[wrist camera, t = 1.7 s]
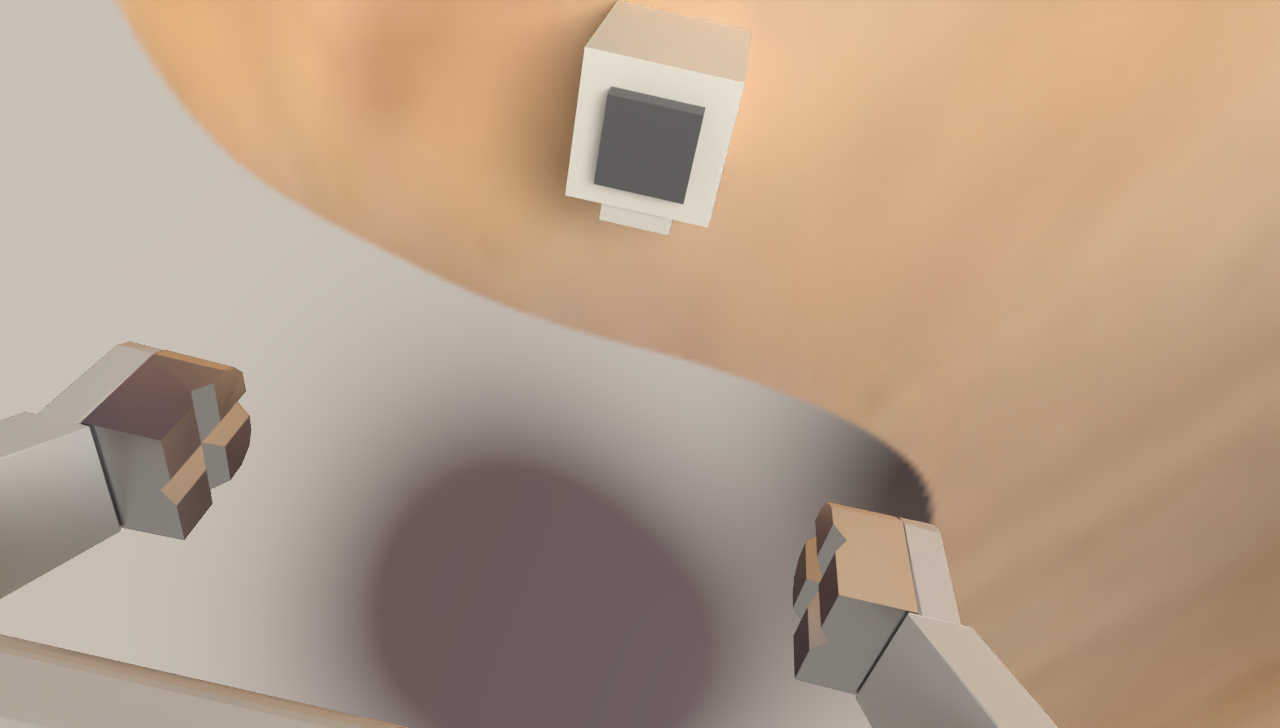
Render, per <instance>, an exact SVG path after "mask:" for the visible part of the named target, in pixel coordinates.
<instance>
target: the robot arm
mask: <svg viewBox="0 0 1280 728" xmlns="http://www.w3.org/2000/svg"><path fill="white" fill-rule="evenodd" d="M245 391H246V389H245V384H244V379H243V373H242V372H241V371H239V370H238V369H236V368H234V367H231V366H227V365H223V364H219V363H215V362H211V361H207V360H203V359H199V358H195V357H191V356H187V355H183V354H180V353H176V352H172V351H168V350H160V349H156V348H152V347H148V346H145V345H141V344H137V343H133V342H126V343H123V344H119V345H117V346H115V347H114V348H113V349H112V350H111V351H110V352H108V353H107V354H106V355H105V356H104V357H103V358H101V359H100V360H99V361H98V362H97V363H96V364H95V365H93V366H92V367H91V368H90V369H89V370H88V371H87V372H85V373H84V374H83V375H82V376H81V377H80V378H79V379H77V380H76V381H75V382H74V383H73V384H72V385H70V386H69V387H68V388H67V389H66V390H65V391H64V392H62V393H61V394H60V395H59V396H58V397H57V398H56V399H54V400H53V401H52V402H51V403H50V404H49V405H47V406H46V407H45V408H44V409H43V410H42V411H41V412H39V413H38V414H33V413H28V412H24V413H21V414H18V415H15V416H12V417H9V418H6V419H3V420H0V599H1V598H3V597H4V596H6V595H8V594H10V593H12V592H13V591H15V590H17V589H19V588H20V587H22V586H24V585H26V584H27V583H29V582H31V581H33V580H35V579H36V578H38V577H40V576H42V575H43V574H45V573H47V572H49V571H50V570H52V569H54V568H56V567H57V566H59V565H61V564H63V563H65V562H66V561H68V560H70V559H72V558H73V557H75V556H77V555H79V554H80V553H82V552H84V551H86V550H88V549H89V548H91V547H93V546H95V545H96V544H98V543H100V542H102V541H104V540H105V539H107V538H109V537H111V536H112V535H114V534H116V533H118V532H119V531H120V530H121V529H120V527H121V528H127V529H132V530H137V531H142V532H147V533H152V534H157V535H162V536H167V537H172V538H177V539H182V540H185V538H186V537H187V536H188V535H189V533H190V532H191V531H192V529H193V528H194V527H195V526H196V524H197V523H198V522H199V520H200V519H201V518H202V516H203V515H204V514H205V513H206V511H207V510H208V509H209V507H210V506H211V505H212V498H211V491H210V489H212V488H214V487H216V486H219V485H221V484H223V483H225V482H227V481H229V480H231V479H232V477H233V476H234V474H235V473H236V472H237V470H238V469H239V468H240V466H241V465H242V462H243V460H244V457H245V455H246V452H247V450H248V447H249V443H250V435H251V424H250V416H249V415H248V413H247V412H246V411H245V410H244V409H243V408H242V406H241V405H240V404H239V403H238V402H237V401H238V400H239V399H240V398H241V396H242V395H243V394H244V393H245ZM815 522H816V537H815V538H813V539H811V540H809V541H807V542H806V543H805V545H804V547H803V550H802V552H801V554H800V557H799V560H798V564H797V568H796V572H795V576H794V586H793V609H794V610H795V612H796V613H797V615H798V616H799V617H800V619H801V621H800V624H799V626H798V628H797V630H796V632H795V634H794V667H795V668H794V670H795V679H797V680H801V681H805V682H809V683H812V684H816V685H821V686H824V687H828V688H832V689H836V690H840V691H844V692H848V693H852V694H856V695H857V696H856V699H857V701H858V703H859V705H860V706H861V708H862V710H863V711H864V713H865V715H866V717H867V719H868V720H869V722H870V724H871V726H872V728H1058V726H1057V725H1056V724H1055V723H1054V722H1053V721H1052V719H1051V718H1050V717H1049V716H1048V715H1047V714H1046V712H1045V711H1044V710H1043V709H1042V708H1041V707H1040V706H1039V704H1038V703H1037V702H1036V701H1035V700H1034V699H1033V697H1032V696H1031V695H1030V694H1029V693H1028V692H1027V690H1026V689H1025V688H1024V687H1023V686H1022V685H1021V683H1020V682H1019V681H1018V680H1017V679H1016V678H1015V676H1014V675H1013V674H1012V673H1011V672H1010V671H1009V670H1008V668H1007V667H1006V666H1005V665H1004V664H1003V663H1002V661H1001V660H1000V659H999V658H998V657H997V656H996V654H995V653H994V652H993V651H992V650H991V649H990V647H989V646H988V645H987V644H986V643H985V642H984V641H983V639H982V638H981V637H980V636H979V635H978V634H977V632H976V631H975V630H974V629H973V628H972V627H969V626H965V625H961V622H960V617H959V613H958V608H957V604H956V599H955V595H954V590H953V586H952V581H951V577H950V572H949V568H948V564H947V559H946V555H945V550H944V546H943V541H942V537H941V532H940V530H939V529H938V528H937V526H936V525H933V524H928V523H924V522H918V521H914V520H909V519H905V518H900V517H899V518H896V517H894V516H889V515H884V514H880V513H876V512H871V511H866V510H862V509H857V508H853V507H848V506H844V505H839V504H834V503H830V502H826V504H825V505H824V506H823V507H822V508H821V510H820V512H819V515H818V516H817V518H816V521H815ZM0 728H409V727H405V726H400V725H396V724H392V723H387V722H383V721H378V720H374V719H370V718H365V717H361V716H357V715H352V714H348V713H343V712H339V711H335V710H330V709H326V708H321V707H317V706H313V705H308V704H304V703H299V702H295V701H291V700H286V699H282V698H278V697H273V696H268V695H265V694H260V693H256V692H251V691H247V690H243V689H238V688H234V687H229V686H225V685H221V684H216V683H212V682H207V681H203V680H198V679H194V678H189V677H185V676H181V675H177V674H172V673H168V672H163V671H159V670H154V669H150V668H146V667H142V666H137V665H133V664H128V663H124V662H120V661H115V660H111V659H106V658H102V657H97V656H93V655H89V654H84V653H80V652H76V651H71V650H66V649H62V648H58V647H53V646H49V645H45V644H41V643H36V642H31V641H27V640H23V639H19V638H14V637H9V636H5V635H1V634H0Z"/></svg>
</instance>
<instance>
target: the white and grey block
mask: <svg viewBox="0 0 1280 728" xmlns="http://www.w3.org/2000/svg"><path fill="white" fill-rule="evenodd" d="M751 32H752V30H749V29H745V28H740V27H736V26H731V25H727V24H723V23H718V22H714V21H709V20H705V19H700V18H696V17H691V16H687V15H683V14H678V13H674V12H669V11H665V10H660V9H656V8H651V7H647V6H643V5H638V4H634V3H629V2H625V1H620V0H618V1H617V2H616V3H615V5H614V6H613V8H612V9H611V10H610V12H609V13H608V15H607V16H606V17H605V19H604V20H603V22H602V23H601V24H600V26H599V27H598V29H597V30H596V32H595V33H594V34H593V36H592V37H591V39H590V40H589V41H588V43H587V44H586V46H585V48H584V56H583V64H582V71H581V79H580V86H579V94H578V101H577V109H576V117H575V124H574V132H573V139H572V147H571V155H570V162H569V170H568V177H567V185H566V192H565V195H566V196H571V197H575V198H580V199H584V200H588V201H593V202H597V203H602V204H601V211H600V217H599V220H603V221H607V222H612V223H616V224H620V225H625V226H629V227H634V228H638V229H642V230H647V231H651V232H656V233H660V234H664V235H669V233H670V229H671V225H672V221H673V220H676V221H680V222H685V223H689V224H694V225H698V226H702V227H707V228H708V227H709V223H710V219H711V215H712V211H713V207H714V203H715V199H716V195H717V191H718V187H719V183H720V179H721V176H722V172H723V168H724V164H725V160H726V156H727V152H728V148H729V144H730V140H731V136H732V132H733V128H734V124H735V120H736V117H737V113H738V109H739V105H740V101H741V97H742V93H743V89H744V85H745V79H746V71H747V63H748V55H749V48H750V40H751Z"/></svg>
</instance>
